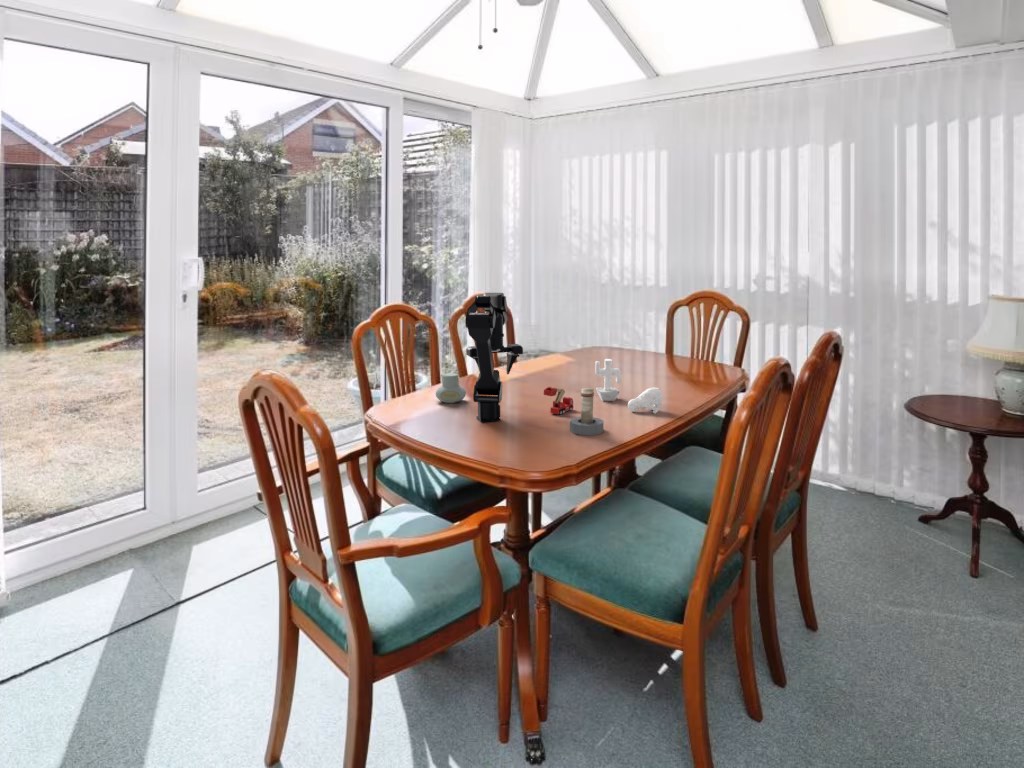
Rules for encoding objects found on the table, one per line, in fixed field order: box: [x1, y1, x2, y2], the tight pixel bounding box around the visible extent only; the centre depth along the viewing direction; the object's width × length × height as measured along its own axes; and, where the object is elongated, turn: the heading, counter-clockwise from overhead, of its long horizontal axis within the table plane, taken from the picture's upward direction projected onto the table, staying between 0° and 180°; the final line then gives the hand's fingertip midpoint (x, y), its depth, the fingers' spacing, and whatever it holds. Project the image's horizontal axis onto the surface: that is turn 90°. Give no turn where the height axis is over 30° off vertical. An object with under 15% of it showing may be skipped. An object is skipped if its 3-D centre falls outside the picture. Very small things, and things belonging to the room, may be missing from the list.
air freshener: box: [435, 372, 467, 404], centre depth 233 cm, size 11×8×10 cm
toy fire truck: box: [543, 386, 574, 415], centre depth 217 cm, size 3×14×10 cm, turn 141°
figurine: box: [594, 358, 622, 402], centre depth 235 cm, size 7×9×15 cm
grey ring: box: [569, 416, 604, 436], centre depth 197 cm, size 10×10×3 cm
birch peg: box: [580, 387, 595, 424], centre depth 196 cm, size 4×4×13 cm
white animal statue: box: [627, 386, 663, 414], centre depth 218 cm, size 6×8×12 cm
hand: (494, 375), depth 220 cm, fingers open, 9 cm apart
